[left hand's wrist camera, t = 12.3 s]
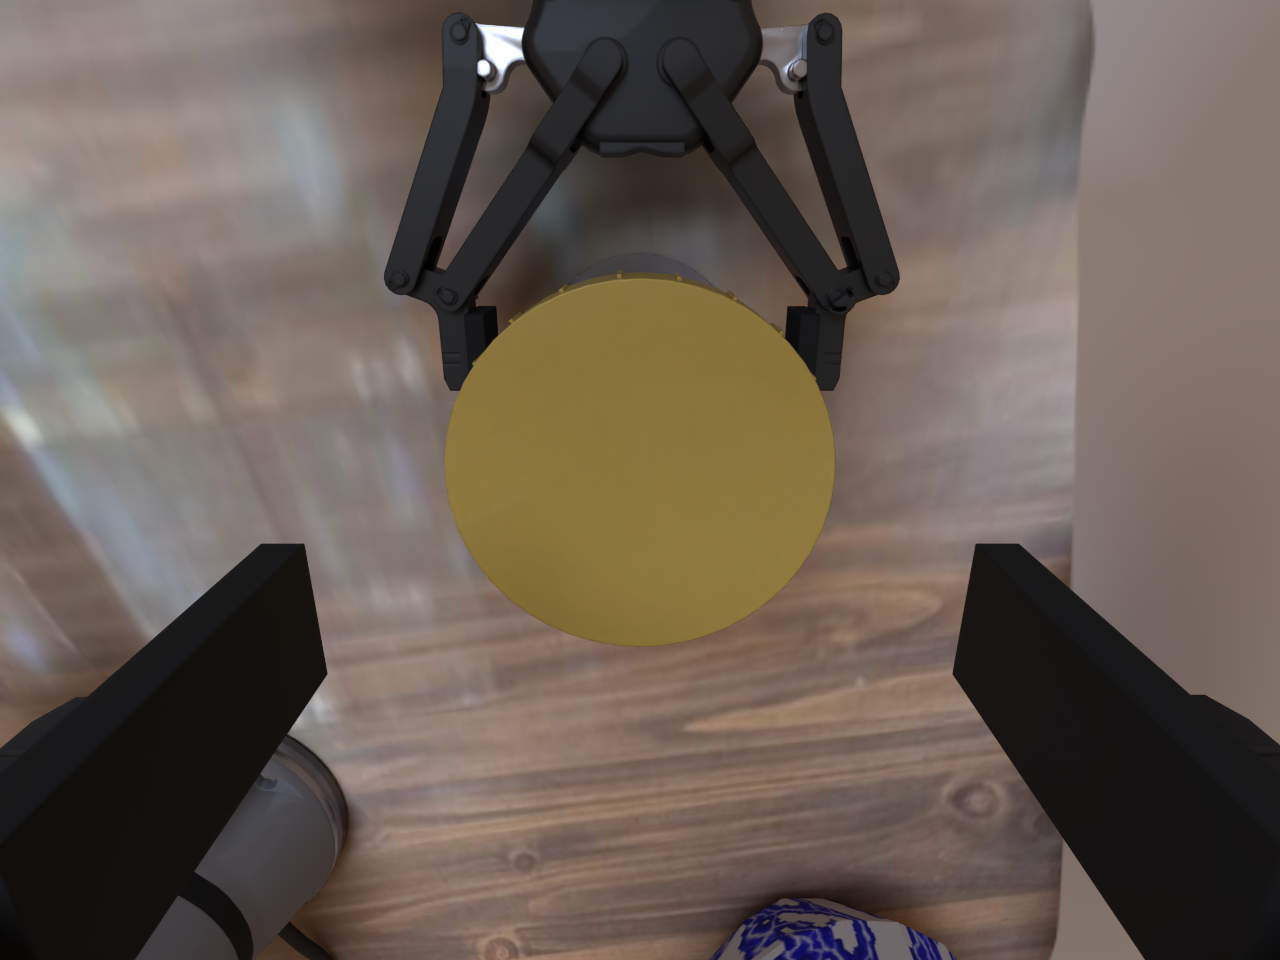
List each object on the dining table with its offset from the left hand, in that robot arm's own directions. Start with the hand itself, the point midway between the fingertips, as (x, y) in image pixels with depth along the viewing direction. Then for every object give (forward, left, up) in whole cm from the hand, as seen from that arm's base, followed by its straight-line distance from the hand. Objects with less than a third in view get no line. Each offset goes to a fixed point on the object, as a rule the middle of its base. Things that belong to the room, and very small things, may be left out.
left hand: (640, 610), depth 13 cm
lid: (0, 0, -7) cm, 7 cm away
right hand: (-4, 0, -18) cm, 19 cm away
